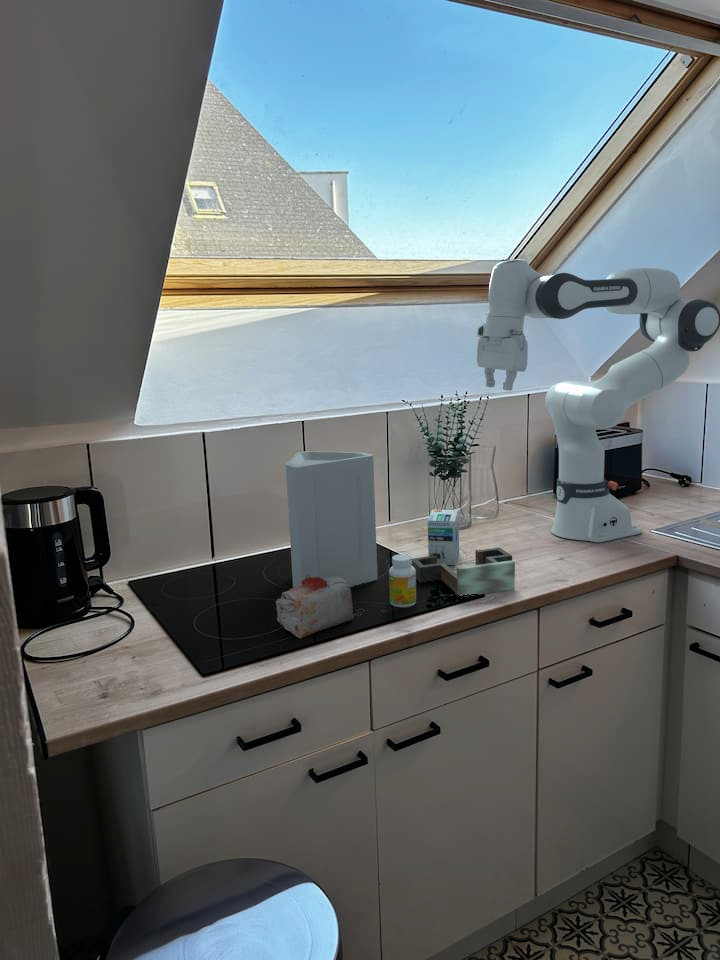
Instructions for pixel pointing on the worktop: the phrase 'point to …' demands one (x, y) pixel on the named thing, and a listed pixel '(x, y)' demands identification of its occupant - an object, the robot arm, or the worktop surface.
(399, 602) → the supplement bottle
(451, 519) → the light bulb box
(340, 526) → the grey triangular bin
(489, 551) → the box
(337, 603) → the food item
